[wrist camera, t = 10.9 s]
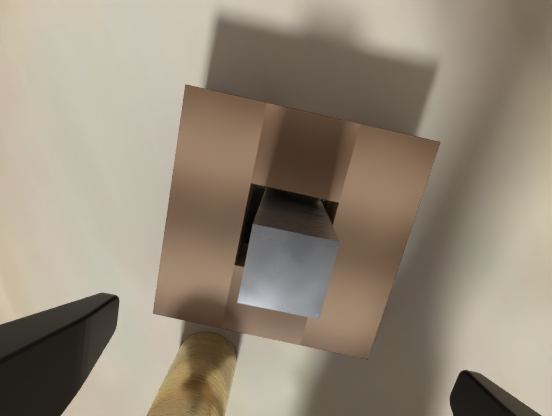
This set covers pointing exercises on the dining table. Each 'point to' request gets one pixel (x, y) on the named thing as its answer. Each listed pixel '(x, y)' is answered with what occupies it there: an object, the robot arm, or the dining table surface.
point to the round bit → (197, 378)
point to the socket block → (294, 178)
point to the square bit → (289, 255)
